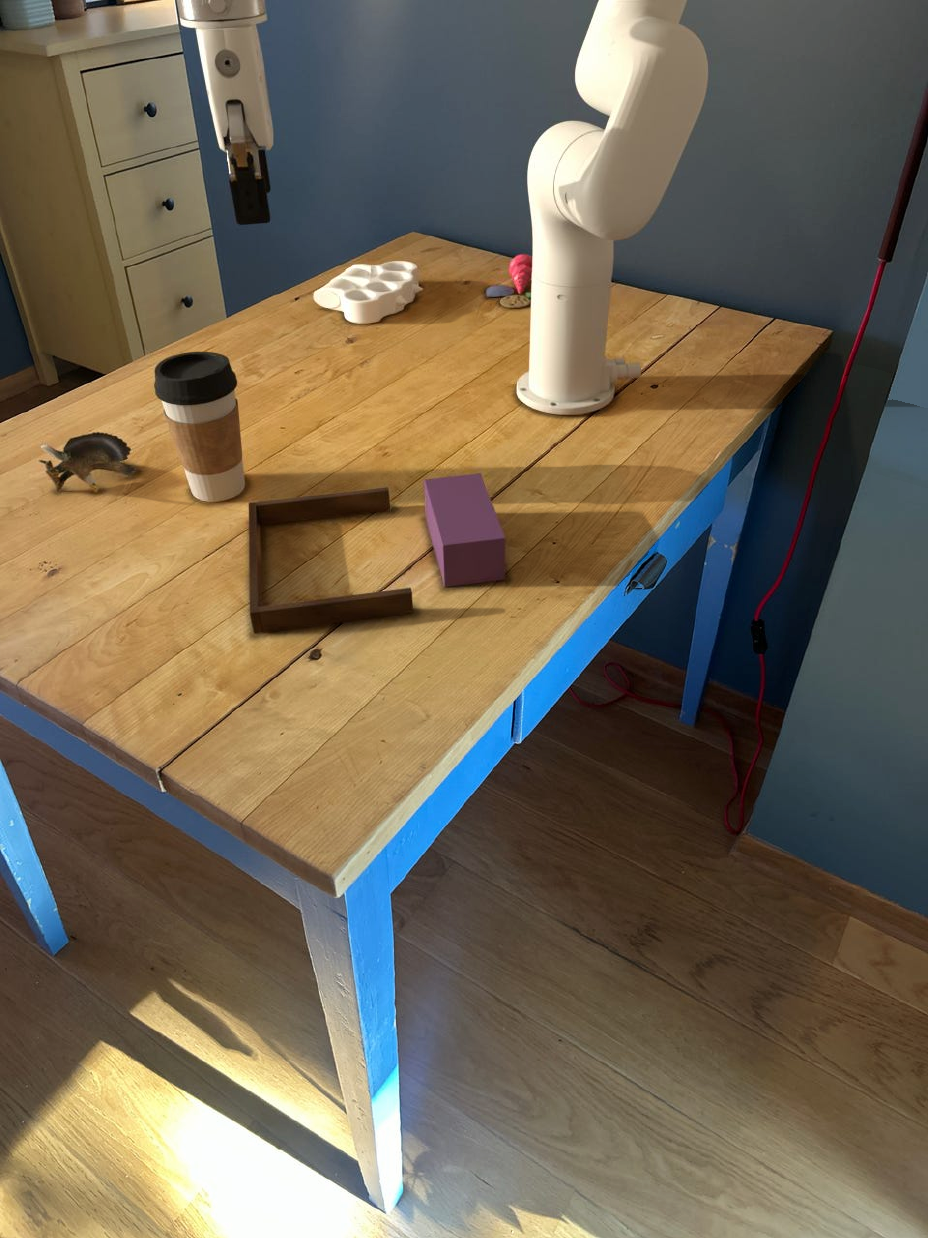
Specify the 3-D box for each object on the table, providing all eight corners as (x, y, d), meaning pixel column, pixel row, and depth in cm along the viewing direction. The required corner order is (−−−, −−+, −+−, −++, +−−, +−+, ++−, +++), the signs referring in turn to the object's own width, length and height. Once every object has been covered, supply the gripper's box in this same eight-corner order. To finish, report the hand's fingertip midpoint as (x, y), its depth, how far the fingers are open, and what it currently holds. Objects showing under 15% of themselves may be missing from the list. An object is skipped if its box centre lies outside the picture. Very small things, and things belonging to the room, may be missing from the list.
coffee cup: (220, 516, 101) (191, 388, 91) (164, 494, 104) (131, 369, 95) (271, 480, 106) (250, 356, 97) (216, 461, 110) (190, 339, 100)
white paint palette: (358, 275, 155) (439, 286, 151) (304, 315, 143) (390, 329, 138) (357, 254, 153) (438, 265, 149) (301, 293, 140) (389, 306, 136)
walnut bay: (389, 506, 102) (388, 486, 100) (413, 613, 88) (411, 592, 86) (252, 522, 100) (248, 502, 98) (253, 634, 86) (249, 613, 84)
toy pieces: (476, 283, 152) (476, 255, 149) (542, 275, 153) (543, 248, 151) (495, 310, 143) (495, 282, 140) (565, 302, 145) (567, 274, 142)
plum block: (481, 512, 101) (480, 472, 97) (504, 579, 91) (505, 537, 88) (426, 519, 100) (423, 478, 97) (444, 587, 91) (442, 545, 88)
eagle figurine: (66, 506, 101) (142, 467, 104) (29, 446, 99) (107, 408, 102) (67, 508, 108) (138, 472, 111) (32, 453, 106) (105, 417, 109)
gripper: (263, 14, 76) (294, 232, 87) (265, -13, 89) (291, 180, 100) (169, 19, 75) (212, 239, 86) (184, -9, 88) (220, 185, 99)
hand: (254, 207), depth 93 cm, fingers open, 9 cm apart
